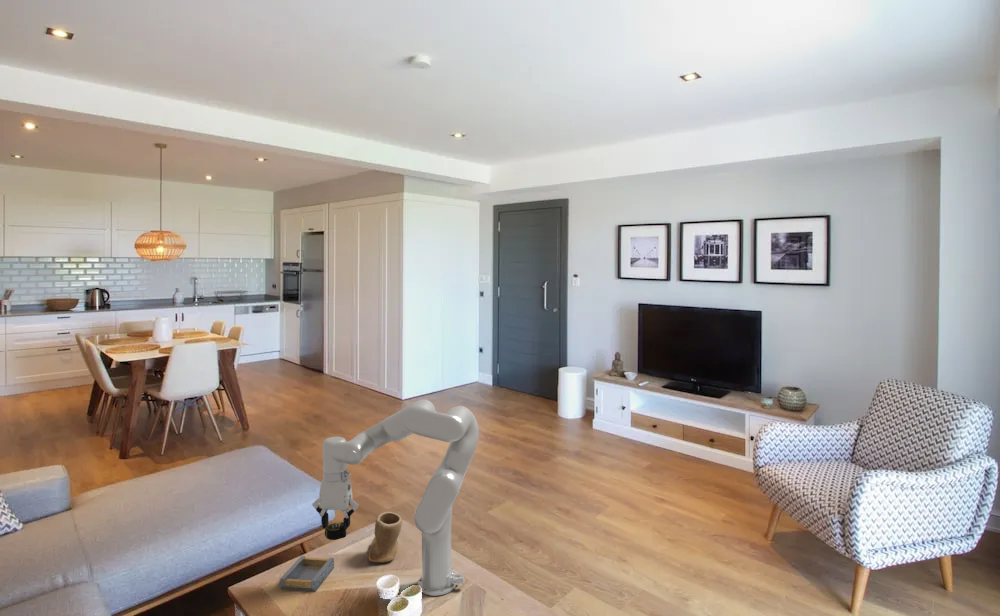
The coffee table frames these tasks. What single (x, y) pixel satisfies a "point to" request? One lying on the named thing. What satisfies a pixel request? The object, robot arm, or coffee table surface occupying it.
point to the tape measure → (335, 531)
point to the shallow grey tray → (307, 574)
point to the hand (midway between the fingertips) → (335, 526)
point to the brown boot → (385, 537)
